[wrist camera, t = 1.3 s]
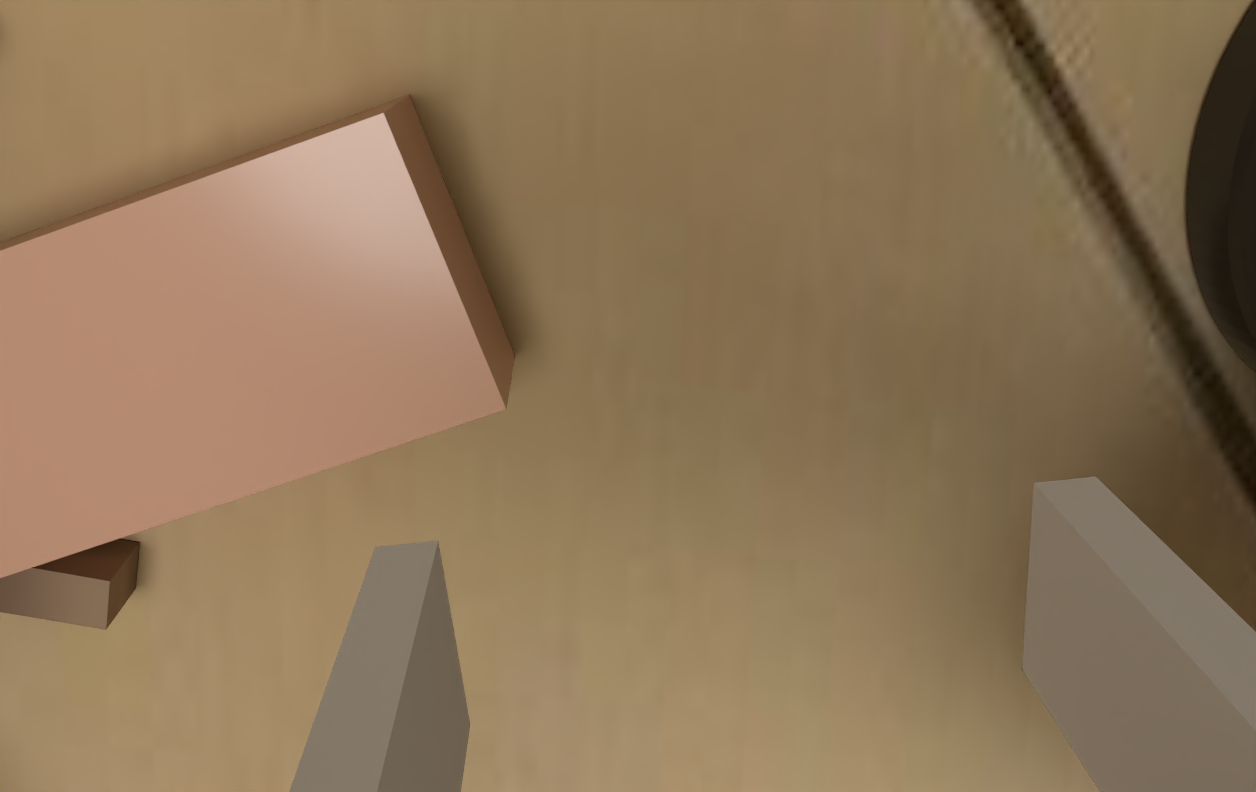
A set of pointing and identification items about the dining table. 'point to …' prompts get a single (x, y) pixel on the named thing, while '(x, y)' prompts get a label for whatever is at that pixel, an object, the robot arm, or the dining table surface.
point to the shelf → (75, 586)
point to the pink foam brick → (237, 335)
